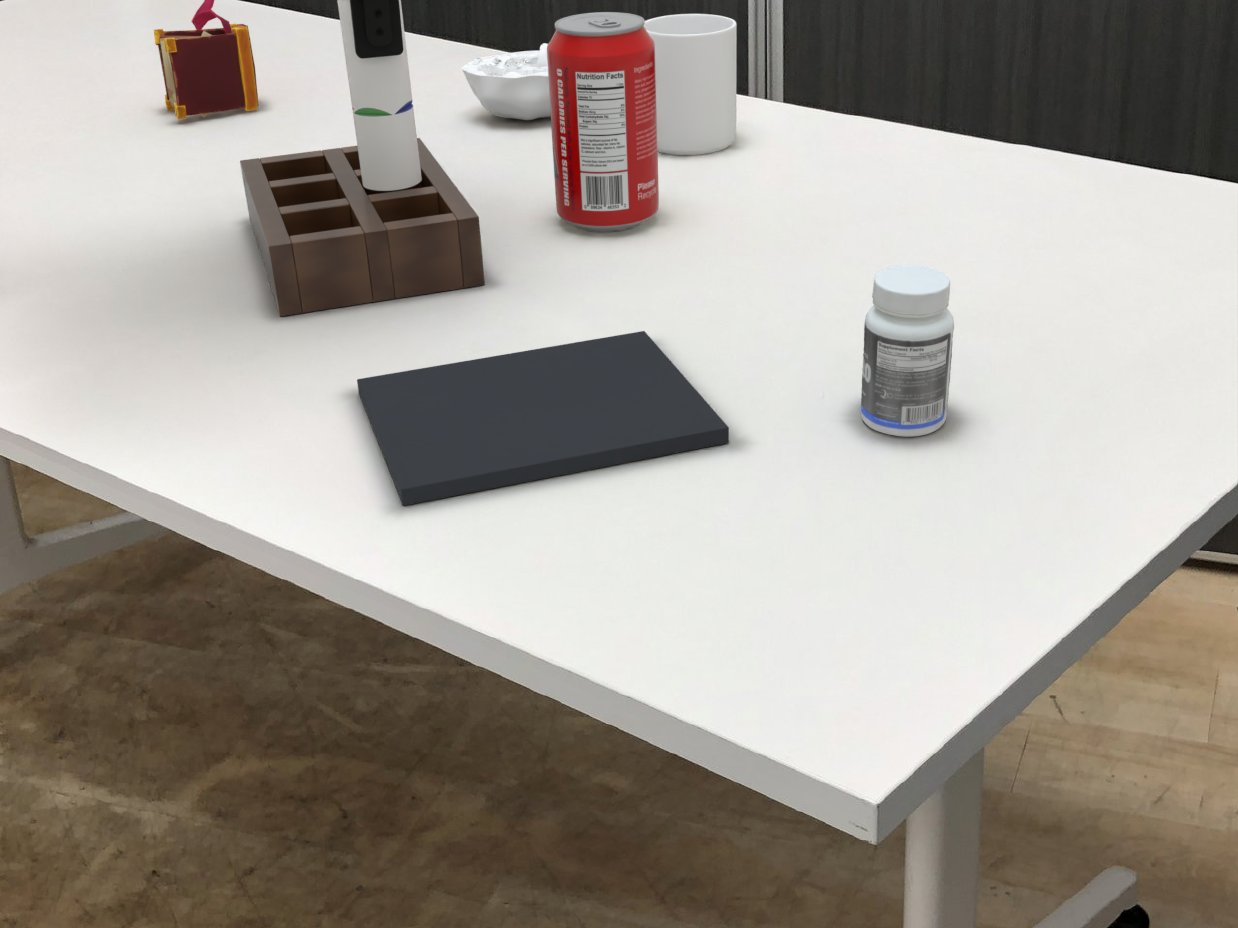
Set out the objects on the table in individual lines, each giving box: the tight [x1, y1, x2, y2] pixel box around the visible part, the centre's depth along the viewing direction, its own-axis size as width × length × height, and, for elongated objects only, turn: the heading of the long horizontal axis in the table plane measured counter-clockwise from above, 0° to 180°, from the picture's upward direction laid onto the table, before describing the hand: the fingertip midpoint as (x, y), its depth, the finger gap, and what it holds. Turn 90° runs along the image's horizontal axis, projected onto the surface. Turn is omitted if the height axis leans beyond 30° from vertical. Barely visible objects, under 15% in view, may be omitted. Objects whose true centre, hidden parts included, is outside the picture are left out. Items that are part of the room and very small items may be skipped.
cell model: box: [461, 42, 551, 121], centre depth 135 cm, size 10×12×7 cm
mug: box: [644, 13, 738, 156], centre depth 124 cm, size 12×8×10 cm
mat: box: [356, 330, 730, 506], centre depth 82 cm, size 18×14×1 cm
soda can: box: [547, 11, 660, 233], centre depth 107 cm, size 8×8×15 cm
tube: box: [336, 0, 422, 191], centre depth 101 cm, size 4×4×15 cm
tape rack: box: [239, 137, 486, 317], centre depth 105 cm, size 14×20×5 cm
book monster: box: [153, 0, 259, 120], centre depth 142 cm, size 11×9×12 cm
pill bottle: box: [860, 264, 955, 438], centre depth 78 cm, size 5×5×8 cm
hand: (373, 45), depth 100 cm, fingers closed on tube, 4 cm apart
